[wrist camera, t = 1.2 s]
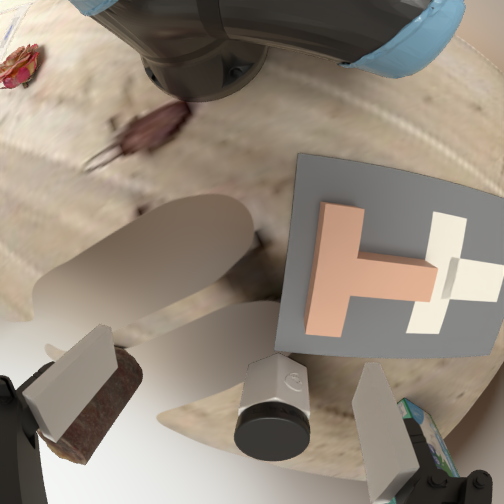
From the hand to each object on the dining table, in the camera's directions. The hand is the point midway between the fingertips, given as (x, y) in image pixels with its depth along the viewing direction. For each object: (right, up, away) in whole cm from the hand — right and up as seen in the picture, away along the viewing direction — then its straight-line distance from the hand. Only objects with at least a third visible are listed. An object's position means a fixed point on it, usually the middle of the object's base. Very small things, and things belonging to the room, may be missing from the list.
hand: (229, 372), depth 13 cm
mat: (+23, +3, +19) cm, 30 cm away
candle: (-19, -12, +27) cm, 35 cm away
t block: (+15, +4, +19) cm, 24 cm away
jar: (+5, -11, +24) cm, 27 cm away
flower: (-37, +37, +18) cm, 56 cm away
